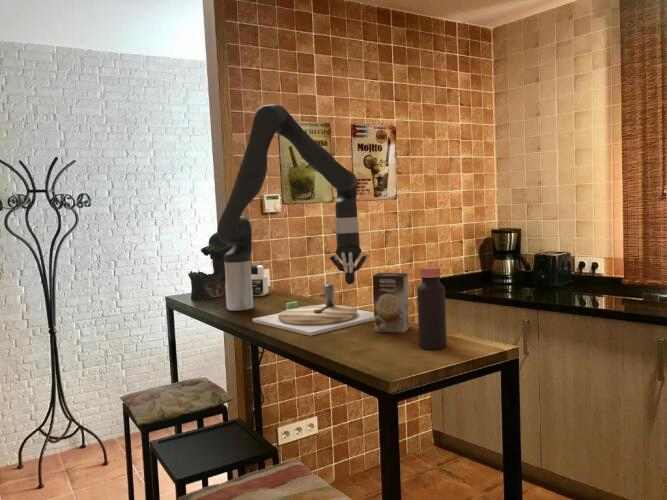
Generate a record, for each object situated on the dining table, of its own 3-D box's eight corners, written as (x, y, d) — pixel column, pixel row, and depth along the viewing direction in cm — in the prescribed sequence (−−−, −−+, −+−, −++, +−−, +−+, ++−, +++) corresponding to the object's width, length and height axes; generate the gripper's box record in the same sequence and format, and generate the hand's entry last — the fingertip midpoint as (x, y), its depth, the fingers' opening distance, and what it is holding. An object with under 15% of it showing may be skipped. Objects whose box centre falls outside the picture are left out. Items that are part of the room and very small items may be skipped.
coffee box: (373, 331, 166) (371, 275, 164) (379, 326, 172) (376, 272, 170) (405, 332, 163) (403, 275, 161) (410, 327, 169) (407, 272, 167)
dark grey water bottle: (428, 351, 142) (425, 270, 141) (414, 345, 149) (411, 267, 147) (452, 347, 145) (449, 267, 143) (436, 342, 151) (434, 265, 149)
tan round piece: (342, 325, 170) (341, 298, 169) (265, 323, 178) (263, 297, 178) (367, 308, 193) (366, 284, 192) (297, 307, 202) (296, 284, 201)
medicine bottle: (246, 296, 238) (244, 266, 237) (252, 293, 245) (250, 264, 244) (263, 295, 237) (261, 266, 236) (268, 292, 244) (266, 264, 243)
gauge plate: (252, 321, 188) (251, 309, 187) (324, 306, 207) (324, 295, 207) (310, 335, 165) (309, 321, 164) (385, 317, 184) (384, 305, 184)
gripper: (370, 229, 192) (372, 282, 194) (332, 231, 197) (335, 282, 198) (363, 231, 185) (366, 285, 187) (324, 232, 190) (327, 285, 191)
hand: (350, 283), depth 192 cm, fingers closed
